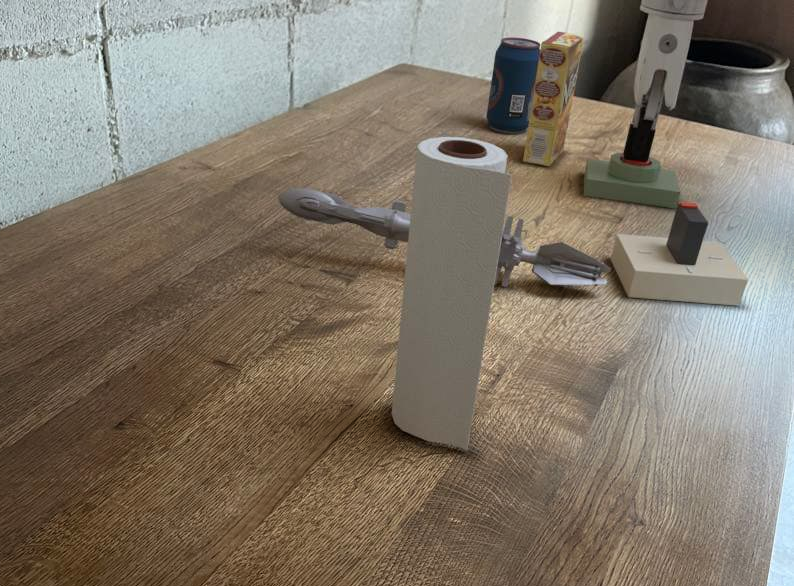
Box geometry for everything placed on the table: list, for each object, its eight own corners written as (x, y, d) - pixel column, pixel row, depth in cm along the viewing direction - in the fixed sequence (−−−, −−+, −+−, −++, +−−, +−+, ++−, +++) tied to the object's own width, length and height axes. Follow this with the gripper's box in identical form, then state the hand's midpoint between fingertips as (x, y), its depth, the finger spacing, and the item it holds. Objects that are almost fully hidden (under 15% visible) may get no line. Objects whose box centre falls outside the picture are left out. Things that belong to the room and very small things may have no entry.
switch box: (671, 186, 126) (679, 156, 124) (675, 208, 119) (684, 177, 117) (584, 174, 127) (590, 144, 125) (583, 195, 120) (590, 164, 118)
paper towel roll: (392, 398, 77) (418, 129, 63) (464, 404, 77) (505, 137, 63) (389, 446, 71) (417, 162, 58) (467, 452, 71) (512, 171, 58)
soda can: (481, 120, 144) (493, 34, 136) (524, 123, 145) (538, 38, 137) (489, 133, 139) (502, 45, 131) (534, 136, 140) (549, 48, 132)
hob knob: (695, 265, 97) (709, 220, 94) (677, 263, 97) (690, 218, 94) (683, 246, 101) (696, 202, 98) (665, 245, 101) (678, 201, 98)
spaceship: (292, 160, 97) (279, 152, 90) (612, 237, 98) (626, 235, 90) (278, 237, 100) (264, 235, 92) (591, 312, 100) (603, 316, 92)
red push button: (645, 170, 123) (649, 156, 122) (647, 178, 120) (650, 165, 119) (619, 166, 123) (622, 153, 122) (619, 174, 121) (622, 161, 119)
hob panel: (713, 267, 105) (722, 240, 103) (739, 306, 97) (749, 277, 95) (610, 259, 104) (616, 232, 102) (627, 297, 97) (635, 268, 95)
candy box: (549, 168, 128) (572, 46, 119) (520, 162, 129) (540, 41, 120) (563, 151, 135) (586, 35, 125) (536, 146, 136) (556, 30, 126)
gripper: (712, 15, 103) (667, 181, 115) (700, -7, 115) (660, 146, 126) (645, 6, 104) (607, 172, 115) (640, -15, 115) (605, 138, 127)
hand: (635, 158), depth 121 cm, fingers closed
